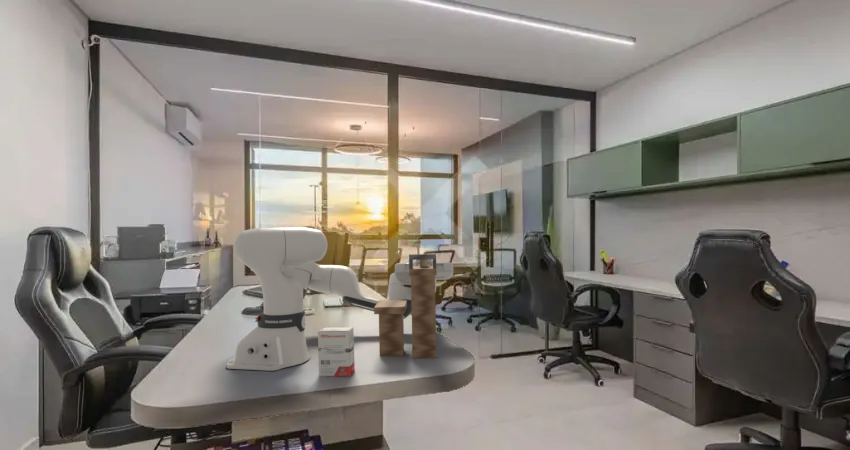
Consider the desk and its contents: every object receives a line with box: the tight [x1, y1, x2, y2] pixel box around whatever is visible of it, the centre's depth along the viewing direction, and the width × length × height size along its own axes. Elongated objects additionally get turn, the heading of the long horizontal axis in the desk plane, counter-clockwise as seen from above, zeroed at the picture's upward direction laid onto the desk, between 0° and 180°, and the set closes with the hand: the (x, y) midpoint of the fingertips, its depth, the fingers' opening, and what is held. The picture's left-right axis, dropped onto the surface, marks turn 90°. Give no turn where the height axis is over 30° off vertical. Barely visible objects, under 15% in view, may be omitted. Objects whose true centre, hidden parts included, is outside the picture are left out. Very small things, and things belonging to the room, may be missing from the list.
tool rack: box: [373, 253, 437, 359], centre depth 127 cm, size 18×13×30 cm
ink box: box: [317, 326, 356, 377], centre depth 109 cm, size 9×5×12 cm, turn 84°
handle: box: [420, 259, 428, 267], centre depth 133 cm, size 2×15×2 cm, turn 0°
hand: (423, 260), depth 137 cm, fingers closed on handle, 2 cm apart
